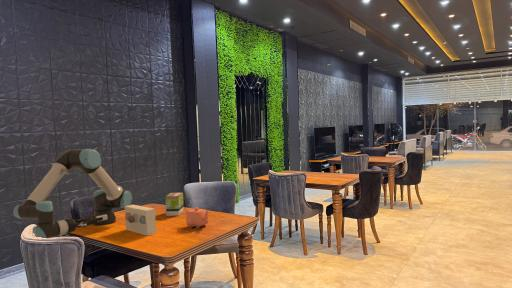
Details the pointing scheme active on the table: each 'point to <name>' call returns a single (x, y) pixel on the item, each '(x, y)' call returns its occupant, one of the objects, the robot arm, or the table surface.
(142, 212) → the button panel
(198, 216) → the teapot
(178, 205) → the tea box
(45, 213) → the robot arm
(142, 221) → the dark grey button
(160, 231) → the table surface
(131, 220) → the grey button
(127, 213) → the terracotta button
